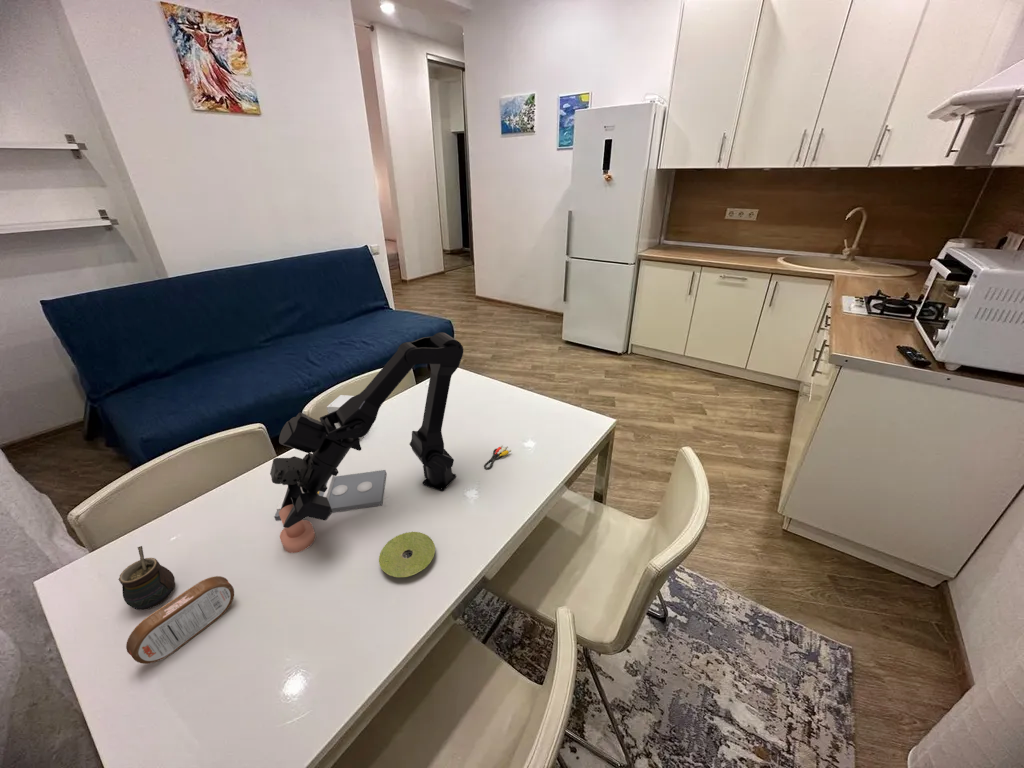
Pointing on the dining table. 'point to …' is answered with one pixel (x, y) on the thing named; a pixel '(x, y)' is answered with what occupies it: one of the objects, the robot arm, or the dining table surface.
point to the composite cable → (497, 456)
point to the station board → (351, 491)
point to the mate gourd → (146, 583)
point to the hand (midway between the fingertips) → (283, 520)
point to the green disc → (407, 554)
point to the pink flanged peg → (296, 533)
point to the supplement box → (338, 406)
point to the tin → (180, 620)
